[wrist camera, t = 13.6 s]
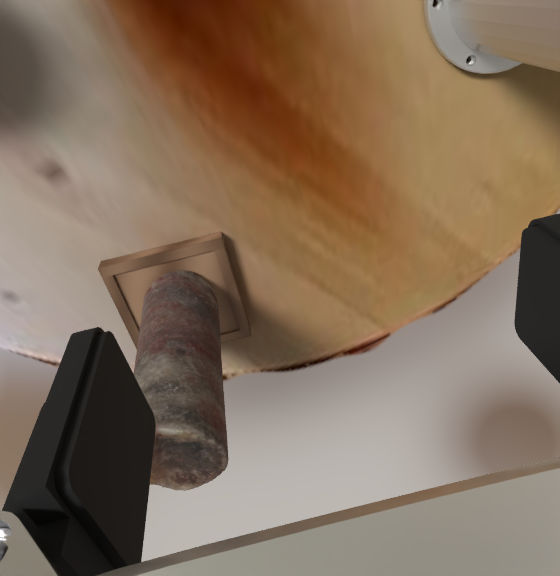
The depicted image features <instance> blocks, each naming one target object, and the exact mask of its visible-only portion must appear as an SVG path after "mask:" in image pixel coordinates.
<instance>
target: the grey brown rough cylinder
mask: <svg viewBox="0 0 560 576" xmlns="http://www.w3.org/2000/svg"><path fill="white" fill-rule="evenodd" d="M134 376H135V378H136V380H137V382H138V384H139V386H140V388H141V390H142V392H143V394H144V396H145V398H146V400H147V402H148V404H149V406H150V408H151V410H152V412H153V414H154V417H155V423H156V431H155V440H154V449H153V458H152V467H151V476H150V484H155V485H160V486H162V487H166V488H171V489H173V490H184V491H185V490H189V489H193V488H196V487H199V486H201V485H203V484H205V483H208V482H209V481H212V480H213V479H215V478H216V477H217V476H218V475H220V474H221V473H222V472H223V471H224V470H225V468H226V467H227V464H228V449H227V448H228V447H227V432H226V421H225V405H224V392H223V377H222V361H221V338H220V320H219V309H218V301H217V297H216V295H215V292H214V290H213V289H212V288H211V286H210V285H209V284H208V283H206V281H204V280H203V279H202V278H201V277H199V275H198V274H196V273H194V272H191V271H175V272H172V273H167V274H164V275H162V276H160V277H158V278H157V279H156V280H155V281H154V282H153V284H152V285H151V286H150V287H149V289H148V291H147V292H146V294H145V296H144V300H143V308H142V315H141V323H140V331H139V339H138V347H137V354H136V361H135V368H134Z"/></svg>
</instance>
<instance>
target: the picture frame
mask: <svg viewBox="0 0 560 576" xmlns="http://www.w3.org/2000/svg"><path fill="white" fill-rule="evenodd" d="M98 270H99V272H100V274H101V276H102V278H103V280H104V283H105V285H106V287H107V289H108V291H109V293H110V295H111V297H112V299H113V301H114V303H115V305H116V307H117V309H118V311H119V313H120V316H121V318H122V320H123V322H124V324H125V326H126V328H127V330H128V332H129V334H130V336H131V338H132V340H133V342H134V344H135V347H136V349H137V347H138V339H139V331H140V323H141V315H142V308H143V300H144V296H145V294H146V292H147V291H148V289H149V287H150V286H151V285H152V284H153V282H154V281H155V280H156V279H157V278H158V277H160V276H162V275H164V274H167V273H172V272H175V271H191V272H194V273H196V274H198V275H199V277H201V278H202V279H203V280H204V281H206V283H208V284H209V285H210V286H211V288H212V289H213V290H214V292H215V295H216V297H217V301H218V309H219V320H220V338H221V343H223V342H227V341H231V340H235V339H239V338H243V337H247V336H251V330H250V325H249V322H248V319H247V315H246V312H245V309H244V305H243V302H242V299H241V296H240V292H239V289H238V286H237V282H236V279H235V276H234V273H233V269H232V266H231V263H230V259H229V256H228V253H227V250H226V246H225V243H224V240H223V236H222V233H221V232H218V233H214V234H210V235H206V236H202V237H198V238H194V239H190V240H186V241H182V242H178V243H174V244H170V245H166V246H162V247H158V248H154V249H149V250H145V251H141V252H137V253H133V254H129V255H125V256H121V257H117V258H113V259H109V260H105V261H101V262H100V265H99V268H98Z"/></svg>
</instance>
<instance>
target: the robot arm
mask: <svg viewBox="0 0 560 576" xmlns="http://www.w3.org/2000/svg"><path fill="white" fill-rule="evenodd" d="M433 1H434V0H424V14H425V20H426V26H427V29H428V31H429V34H430V37H431V40H432V41H433V43H434V45H435V46H436V48H437V50H438V51H439V52H440V53H441V54H442V55H443V56H444V57H445V58H446V59H447V60H448V61H449V62H450V63H452V64H454V65H455V66H457V67H459V68H461V69H464V70H466V71H470V72H475V73H480V74H490V73H498V72H502V71H506V70H510V69H512V68H514V67H516V66H518V65H521V64H523V63H525V64H529V65H533V66H537V67H541V68H545V69H549V70H553V71H557V72H560V0H436V5H435V6H434V7H433V6H432V4H433ZM468 57H469V60H468V61H467V62H466V60H467V58H468ZM515 329H516V332H517V334H518V336H519V338H520V339H521V340H522V341H523V342H524V344H525V345H526V346H527V347H528V348H529V349H530V350H531V352H532V353H533V354H534V355H535V356H536V357H537V358H538V359H539V360H540V362H541V363H542V364H543V365H544V366H545V367H546V368H547V370H548V371H549V372H550V373H551V374H552V375H553V376H554V377H555V378H556V380H557V381H558V382H559V383H560V214H555V215H551V216H547V217H543V218H539V219H535V220H532V221H531V222H530V224H529V226H528V228H526V229H524V230H523V232H522V238H521V250H520V262H519V276H518V287H517V299H516V312H515ZM155 431H156V423H155V417H154V414H153V412H152V410H151V408H150V406H149V404H148V402H147V400H146V398H145V396H144V394H143V392H142V390H141V388H140V386H139V384H138V382H137V380H136V378H135V376H134V374H133V372H132V370H131V368H130V366H129V364H128V362H127V360H126V358H125V357H124V355H123V353H122V351H121V349H120V347H119V345H118V343H117V341H116V339H115V337H114V335H113V334H112V333H111V332H110V331H107V332H104V331H103V330H102V329H101V328H99V327H97V328H92V329H88V330H84V331H80V332H76V333H73V334H72V335H71V337H70V339H69V342H68V345H67V347H66V350H65V353H64V355H63V358H62V360H61V363H60V366H59V368H58V371H57V374H56V376H55V379H54V381H53V384H52V387H51V389H50V392H49V395H48V397H47V400H46V402H45V403H44V405H43V407H42V408H41V411H40V413H39V416H38V419H37V421H36V424H35V427H34V429H33V431H32V434H31V437H30V439H29V442H28V445H27V447H26V450H25V452H24V455H23V457H22V461H21V463H20V465H19V468H18V471H17V473H16V476H15V478H14V481H13V483H12V486H11V489H10V491H9V494H8V496H7V499H6V502H5V504H4V507H3V509H2V511H0V576H560V457H558V458H554V459H549V460H545V461H541V462H537V463H533V464H529V465H525V466H521V467H517V468H512V469H508V470H504V471H500V472H496V473H491V474H487V475H483V476H479V477H475V478H471V479H468V480H463V481H459V482H455V483H451V484H447V485H443V486H439V487H435V488H430V489H426V490H422V491H418V492H414V493H411V494H406V495H402V496H399V497H394V498H390V499H386V500H382V501H378V502H374V503H370V504H366V505H362V506H358V507H354V508H350V509H346V510H342V511H338V512H334V513H330V514H326V515H322V516H318V517H314V518H310V519H306V520H302V521H298V522H294V523H290V524H286V525H282V526H278V527H274V528H270V529H266V530H262V531H258V532H255V533H250V534H247V535H243V536H239V537H235V538H231V539H227V540H223V541H219V542H215V543H211V544H208V545H203V546H199V547H196V548H192V549H189V550H185V551H181V552H177V553H174V554H170V555H167V556H163V557H159V558H155V559H152V560H148V561H144V562H141V557H142V548H143V540H144V531H145V521H146V512H147V503H148V494H149V485H150V476H151V467H152V458H153V449H154V440H155Z"/></svg>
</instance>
